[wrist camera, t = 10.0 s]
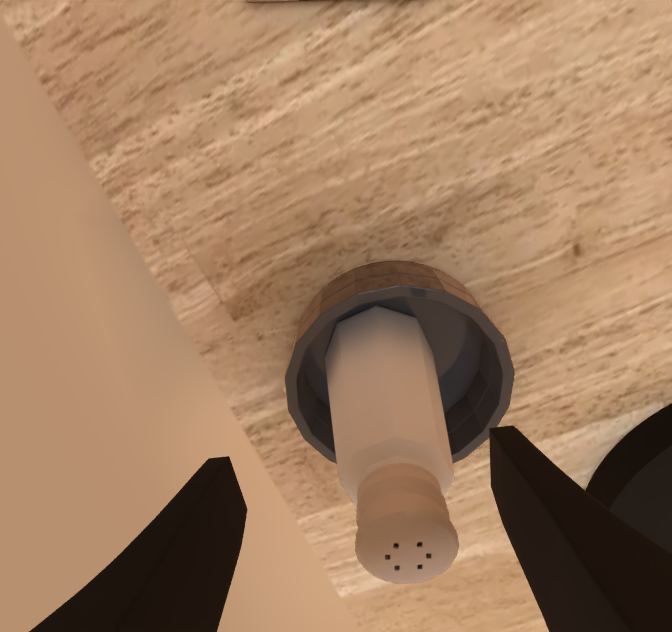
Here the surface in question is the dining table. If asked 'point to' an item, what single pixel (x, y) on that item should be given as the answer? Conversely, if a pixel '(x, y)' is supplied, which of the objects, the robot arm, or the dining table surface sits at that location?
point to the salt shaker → (392, 444)
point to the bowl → (441, 333)
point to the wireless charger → (640, 479)
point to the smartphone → (269, 0)
